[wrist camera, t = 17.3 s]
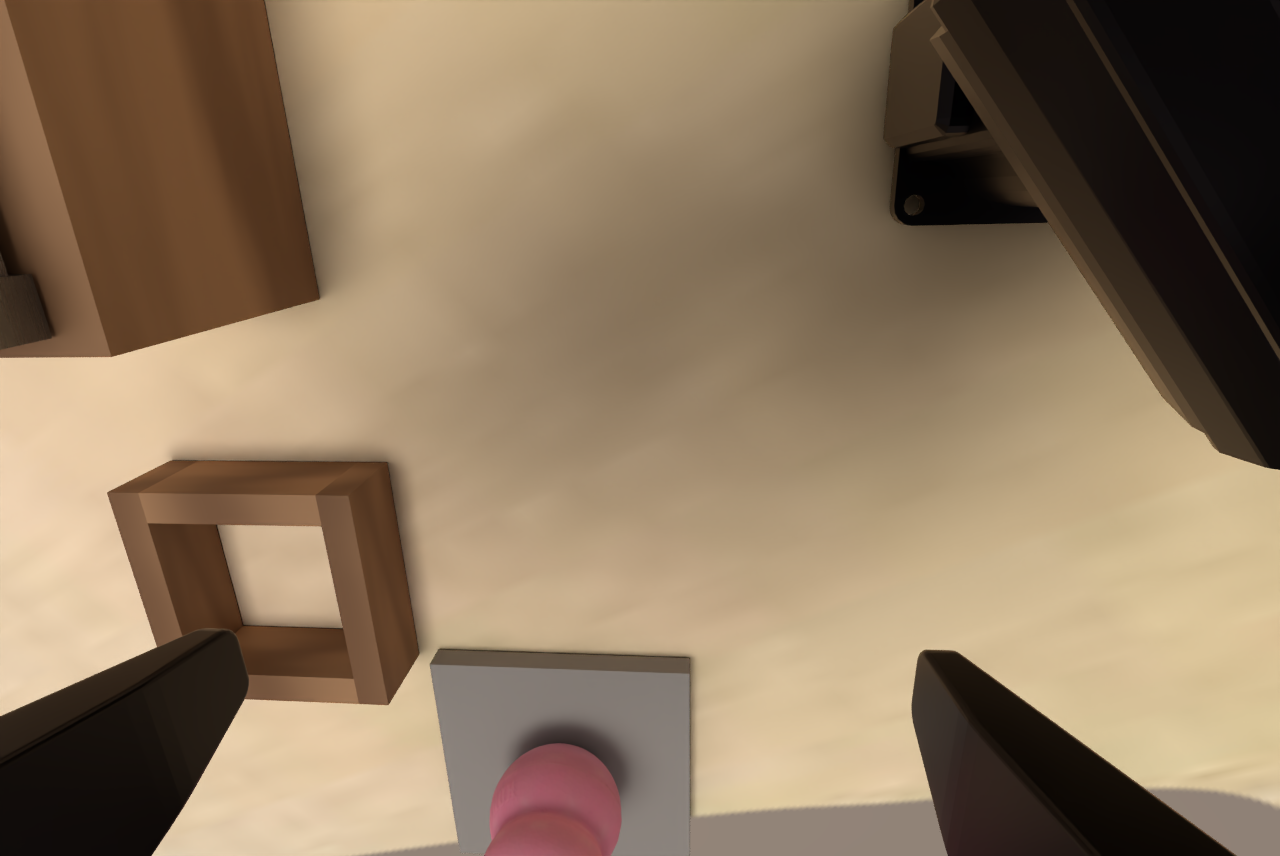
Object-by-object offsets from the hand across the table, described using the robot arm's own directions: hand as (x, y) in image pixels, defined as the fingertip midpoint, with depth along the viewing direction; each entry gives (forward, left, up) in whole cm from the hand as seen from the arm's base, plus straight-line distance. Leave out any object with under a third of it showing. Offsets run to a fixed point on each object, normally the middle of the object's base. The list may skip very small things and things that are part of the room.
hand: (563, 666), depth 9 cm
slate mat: (+3, +14, -12) cm, 19 cm away
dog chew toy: (+3, +14, -11) cm, 18 cm away
